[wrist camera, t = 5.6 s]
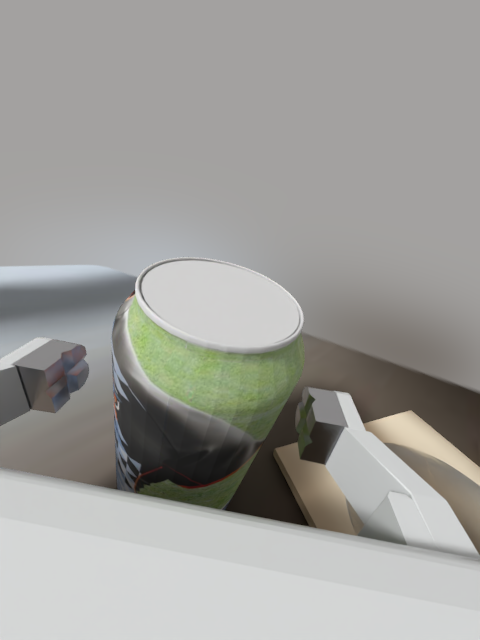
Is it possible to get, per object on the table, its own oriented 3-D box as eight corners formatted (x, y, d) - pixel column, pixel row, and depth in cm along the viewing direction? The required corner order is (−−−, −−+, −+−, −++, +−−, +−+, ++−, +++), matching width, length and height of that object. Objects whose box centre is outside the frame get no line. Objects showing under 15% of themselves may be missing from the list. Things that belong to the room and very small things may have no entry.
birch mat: (569, 1035, 5) (592, 1047, 5) (273, 454, 15) (274, 448, 15) (696, 664, 10) (711, 660, 10) (407, 415, 20) (410, 410, 20)
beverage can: (183, 416, 17) (194, 239, 12) (274, 488, 14) (350, 287, 8) (89, 490, 12) (35, 249, 7) (194, 631, 9) (249, 370, 3)
